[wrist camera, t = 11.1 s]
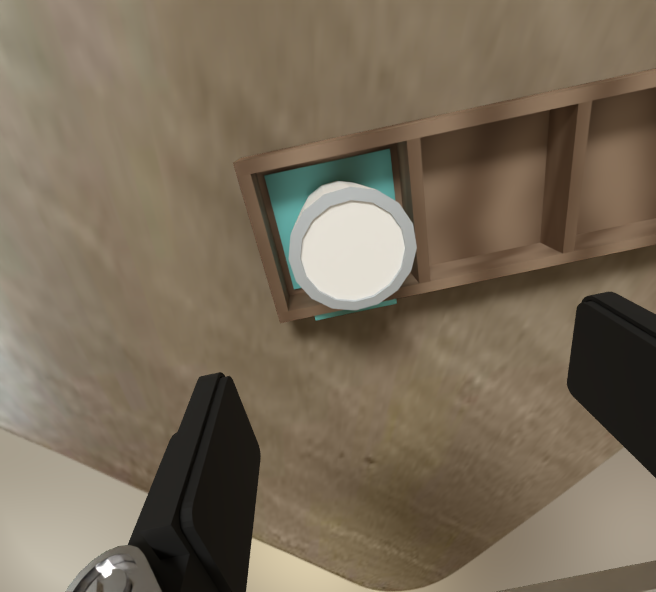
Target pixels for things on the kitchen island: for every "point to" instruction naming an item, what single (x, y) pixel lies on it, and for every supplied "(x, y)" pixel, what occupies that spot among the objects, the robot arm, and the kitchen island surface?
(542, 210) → the rack
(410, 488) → the kitchen island surface
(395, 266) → the white cup
